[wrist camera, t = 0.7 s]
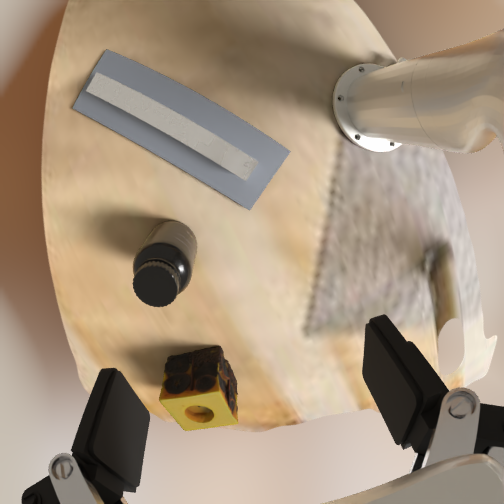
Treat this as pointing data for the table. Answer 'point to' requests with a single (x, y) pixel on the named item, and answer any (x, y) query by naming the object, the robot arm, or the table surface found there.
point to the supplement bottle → (164, 263)
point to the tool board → (195, 110)
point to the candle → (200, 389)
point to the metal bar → (173, 125)
